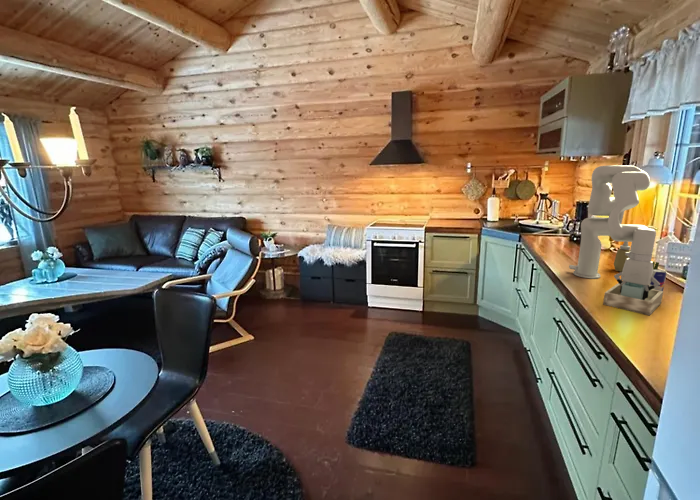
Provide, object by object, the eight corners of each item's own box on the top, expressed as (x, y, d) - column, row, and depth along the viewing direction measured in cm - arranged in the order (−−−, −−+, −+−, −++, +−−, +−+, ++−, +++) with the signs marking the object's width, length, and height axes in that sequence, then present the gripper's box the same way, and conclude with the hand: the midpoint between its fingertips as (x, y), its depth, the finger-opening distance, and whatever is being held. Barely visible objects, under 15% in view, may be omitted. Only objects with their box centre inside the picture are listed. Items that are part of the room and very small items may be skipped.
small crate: (619, 299, 165) (622, 284, 163) (626, 293, 171) (628, 280, 169) (639, 303, 159) (642, 289, 158) (645, 298, 166) (648, 283, 164)
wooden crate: (602, 304, 165) (604, 292, 164) (617, 293, 178) (618, 282, 177) (649, 315, 153) (651, 302, 152) (661, 303, 166) (663, 291, 165)
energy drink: (658, 298, 172) (663, 273, 169) (644, 294, 177) (649, 270, 174) (664, 296, 174) (669, 271, 172) (650, 293, 179) (655, 268, 176)
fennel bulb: (655, 284, 192) (659, 261, 189) (655, 286, 188) (660, 263, 185) (640, 282, 195) (644, 259, 192) (641, 284, 191) (645, 261, 188)
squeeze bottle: (630, 273, 209) (636, 241, 205) (612, 271, 213) (617, 240, 209) (629, 270, 216) (634, 239, 212) (612, 268, 220) (617, 237, 216)
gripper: (613, 254, 165) (607, 293, 169) (664, 262, 152) (656, 304, 156) (618, 252, 170) (612, 289, 174) (668, 259, 157) (660, 300, 161)
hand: (633, 296), depth 165 cm, fingers closed on small crate, 7 cm apart
